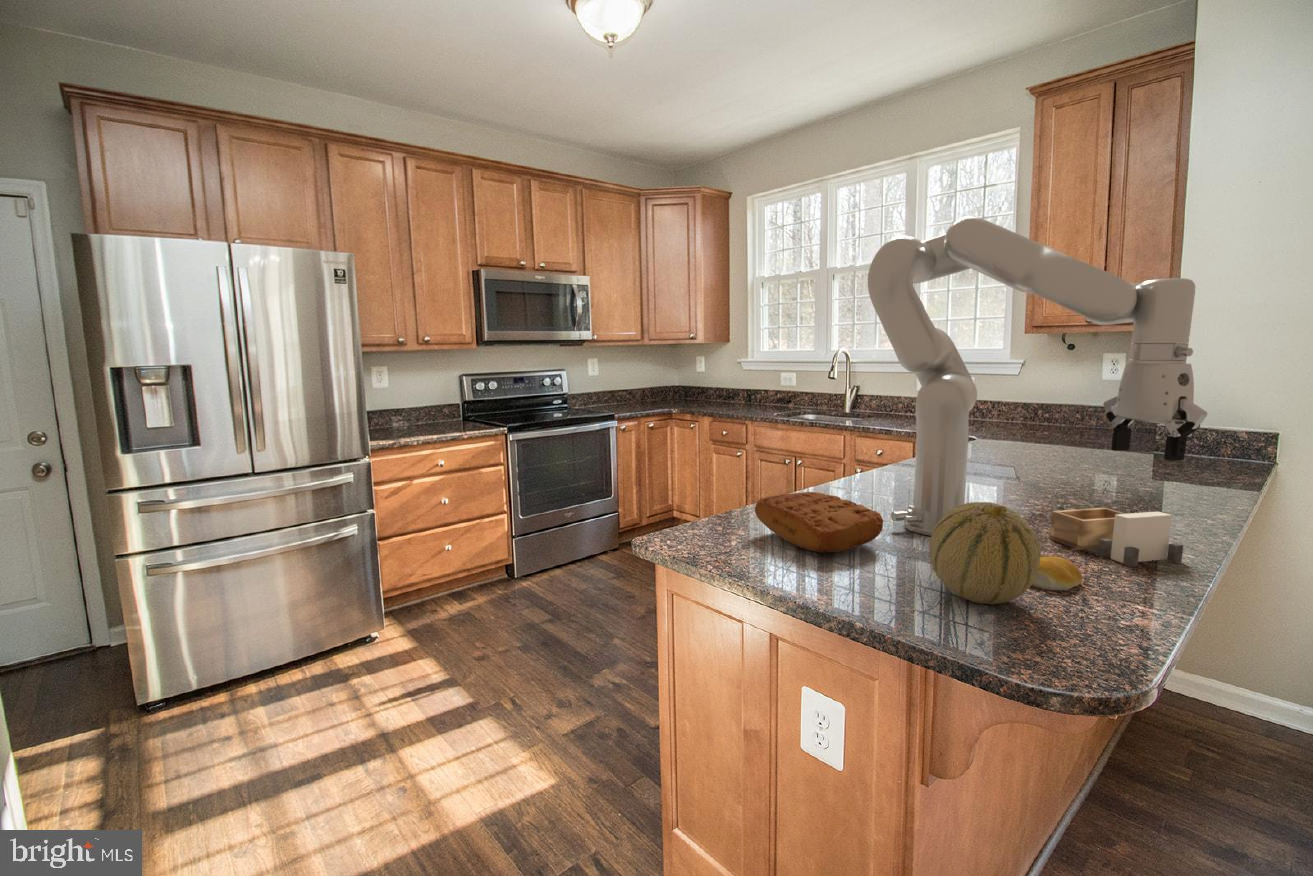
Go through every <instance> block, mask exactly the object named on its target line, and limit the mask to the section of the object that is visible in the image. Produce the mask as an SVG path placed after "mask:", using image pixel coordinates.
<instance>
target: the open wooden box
mask: <svg viewBox="0 0 1313 876" xmlns="http://www.w3.org/2000/svg"><path fill="white" fill-rule="evenodd" d="M1116 514H1127V513H1125V512H1121V511H1118V510H1115V509H1111V508H1108V507H1095V508H1082V509H1081V508H1077V509H1067V510H1066V509H1065V510H1052V512H1051V520H1050V521H1051V522H1050V530H1049V531H1050V532H1049V539H1050V540H1052V541H1055V542H1058V543H1060V544H1063V545H1065V546H1068V547H1071V548H1073V549H1076V550H1078V551H1086V552H1088V553H1091V554H1094V555H1096V556H1099V557H1102V558H1111V549H1112V539H1113V529H1114V520H1115V515H1116ZM1183 552H1184V545H1183V544H1180V543H1178V542H1175V543H1169V544H1168V553H1167V559H1166V561H1167V560H1168V561H1167V562H1170V561H1171V562H1170V563H1173V564H1175V563H1174V562H1177V563H1182V561H1183V554H1184V553H1183ZM1138 556H1139V549H1138V548H1135V547H1125V550H1124V559H1123V563H1122V565H1124V566H1126V567H1129V568H1131V567H1138V564H1139V562H1138Z"/></svg>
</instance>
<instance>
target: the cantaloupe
mask: <svg viewBox="0 0 1313 876" xmlns="http://www.w3.org/2000/svg"><path fill="white" fill-rule="evenodd" d="M928 546H929V551H928V553H929V560H930V564H931V567H932V571H933V572H934V574H935V576H937V578H938V579H939V581H940V582H941V583H942V584H943V585H944V587H946V588H947V590H949V592H952V594H954V595H957V596H958V597H960V598H962V599H965V600H967V601H971V602H973V603H978V604H988V605H997V604H1003V603H1008V602H1010V601H1012V600H1015V599H1017V598H1019V597H1020V596H1022V595H1023V594H1024V593H1025V592H1027V591H1028V590H1029V589H1030V588H1031V587H1032V584H1033V582H1034V580H1035V577H1036V575H1037V572H1038V567H1039V563H1040V557H1041V553H1042V550H1041V546H1040V541H1039V538H1038V537H1037V534H1036V533H1035V530H1034V529H1033V528H1032V526H1031V525H1030V524H1029V522H1028V521H1026V519H1024V518H1023V517H1022V516H1020V514H1019V513H1018V512H1016V511H1014V510H1012V509H1010V508H1009V507H1007V506H1004V505H1001V504H998V503H996V502H990V501H989V502H987V501H984V502H983V501H982V502H980V501H979V502H978V501H976V502H973V501H972V502H965V504H962V505H960V506H957V507H955V508H953V509H952V510H951V511H949V512H948V513H946V514H945V515H944V516H943V517H942V518H941V519H940V520H939V521H938V523H937V525H936V526H935V528H934V530H933V532H932V536H930V540H929V545H928Z"/></svg>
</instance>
